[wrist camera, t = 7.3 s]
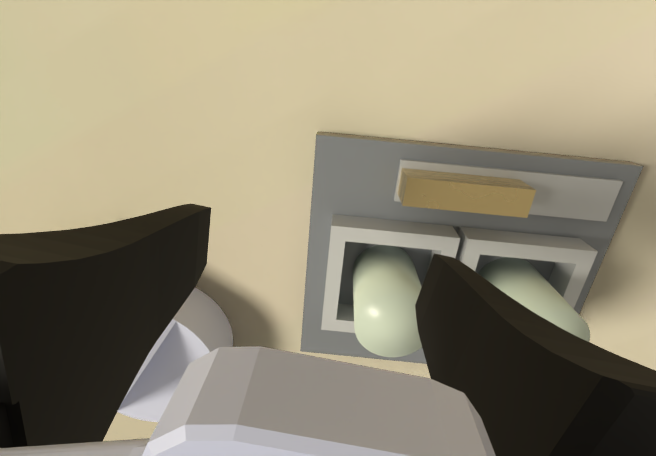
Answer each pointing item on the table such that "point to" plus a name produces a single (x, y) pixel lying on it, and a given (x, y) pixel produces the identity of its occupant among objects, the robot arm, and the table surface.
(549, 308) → the pale green egg
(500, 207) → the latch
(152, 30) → the table surface
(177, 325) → the wedge on round base
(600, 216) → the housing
